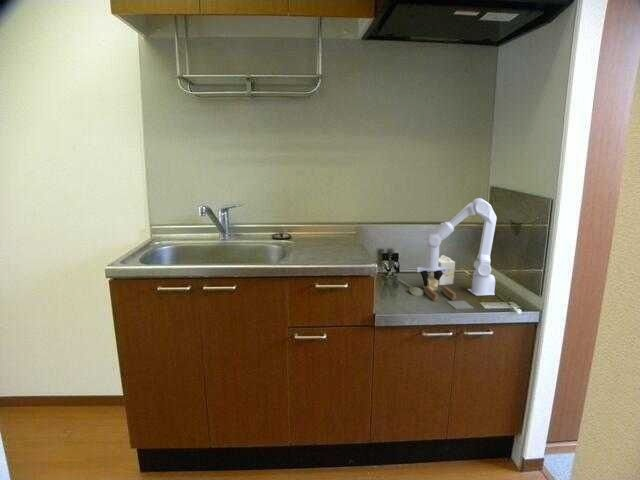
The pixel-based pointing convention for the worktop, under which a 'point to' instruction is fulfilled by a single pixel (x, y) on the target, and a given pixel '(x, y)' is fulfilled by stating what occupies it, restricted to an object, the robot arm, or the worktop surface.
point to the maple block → (432, 283)
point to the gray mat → (460, 305)
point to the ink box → (447, 275)
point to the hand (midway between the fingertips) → (430, 285)
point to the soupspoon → (414, 289)
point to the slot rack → (445, 290)
